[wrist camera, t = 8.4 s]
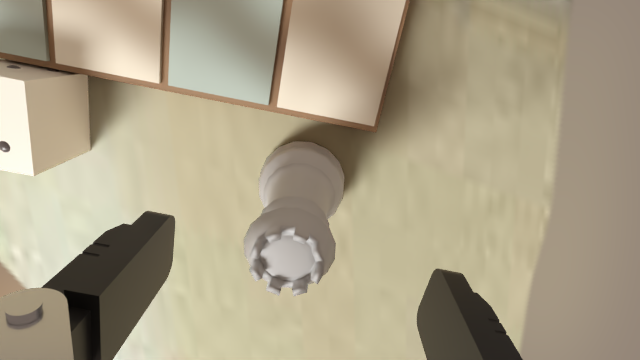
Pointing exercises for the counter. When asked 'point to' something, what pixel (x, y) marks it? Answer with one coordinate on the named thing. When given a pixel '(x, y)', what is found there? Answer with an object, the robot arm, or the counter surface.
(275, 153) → the rook chess piece
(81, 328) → the robot arm
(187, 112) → the counter surface
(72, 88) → the die
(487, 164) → the counter surface
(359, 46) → the board
